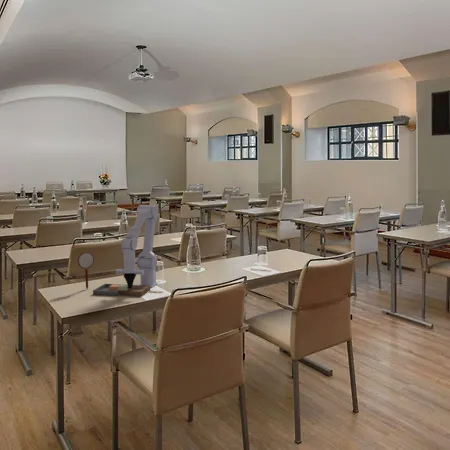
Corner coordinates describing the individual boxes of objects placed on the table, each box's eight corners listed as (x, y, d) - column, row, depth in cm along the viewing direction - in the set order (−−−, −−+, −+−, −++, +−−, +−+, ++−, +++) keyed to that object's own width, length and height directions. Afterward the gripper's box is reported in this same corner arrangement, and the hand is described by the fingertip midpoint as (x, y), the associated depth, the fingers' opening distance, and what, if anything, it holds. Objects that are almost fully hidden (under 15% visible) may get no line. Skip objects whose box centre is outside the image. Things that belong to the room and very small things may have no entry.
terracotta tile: (120, 284, 259) (120, 288, 259) (112, 284, 260) (112, 288, 260) (117, 286, 255) (117, 290, 255) (109, 286, 255) (109, 290, 256)
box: (105, 287, 263) (105, 283, 263) (127, 288, 260) (127, 284, 260) (93, 294, 249) (92, 290, 249) (116, 295, 247) (116, 291, 246)
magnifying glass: (94, 287, 263) (92, 251, 260) (95, 288, 262) (94, 251, 259) (78, 290, 258) (76, 253, 255) (79, 290, 257) (78, 253, 254)
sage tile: (122, 287, 252) (122, 284, 252) (130, 288, 252) (130, 284, 251) (118, 290, 248) (118, 286, 248) (126, 290, 247) (126, 286, 247)
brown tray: (127, 289, 259) (127, 284, 259) (150, 290, 257) (150, 285, 256) (117, 295, 248) (117, 290, 247) (141, 296, 245) (141, 291, 245)
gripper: (112, 262, 245) (113, 289, 247) (140, 263, 242) (140, 290, 244) (118, 259, 252) (119, 285, 253) (145, 260, 249) (146, 286, 250)
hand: (130, 287), depth 249 cm, fingers closed
